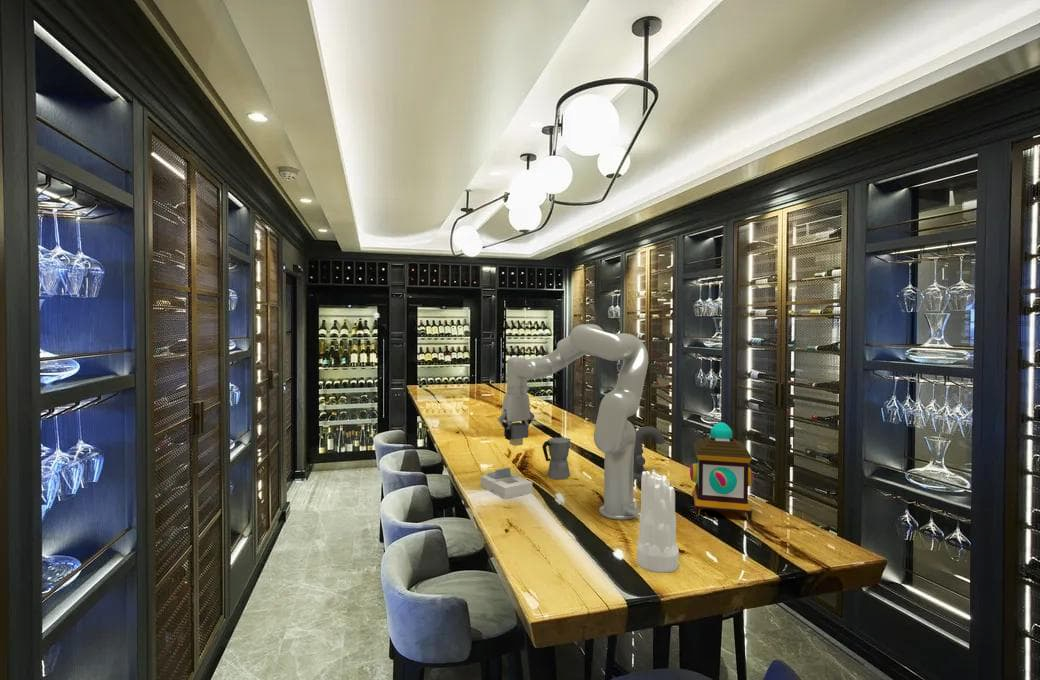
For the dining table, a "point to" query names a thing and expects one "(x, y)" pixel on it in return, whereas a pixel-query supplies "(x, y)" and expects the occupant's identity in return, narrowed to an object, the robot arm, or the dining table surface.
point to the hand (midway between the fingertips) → (516, 437)
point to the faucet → (638, 450)
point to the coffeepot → (557, 457)
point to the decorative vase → (657, 525)
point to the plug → (518, 433)
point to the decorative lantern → (721, 473)
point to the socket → (507, 486)
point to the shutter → (500, 473)
